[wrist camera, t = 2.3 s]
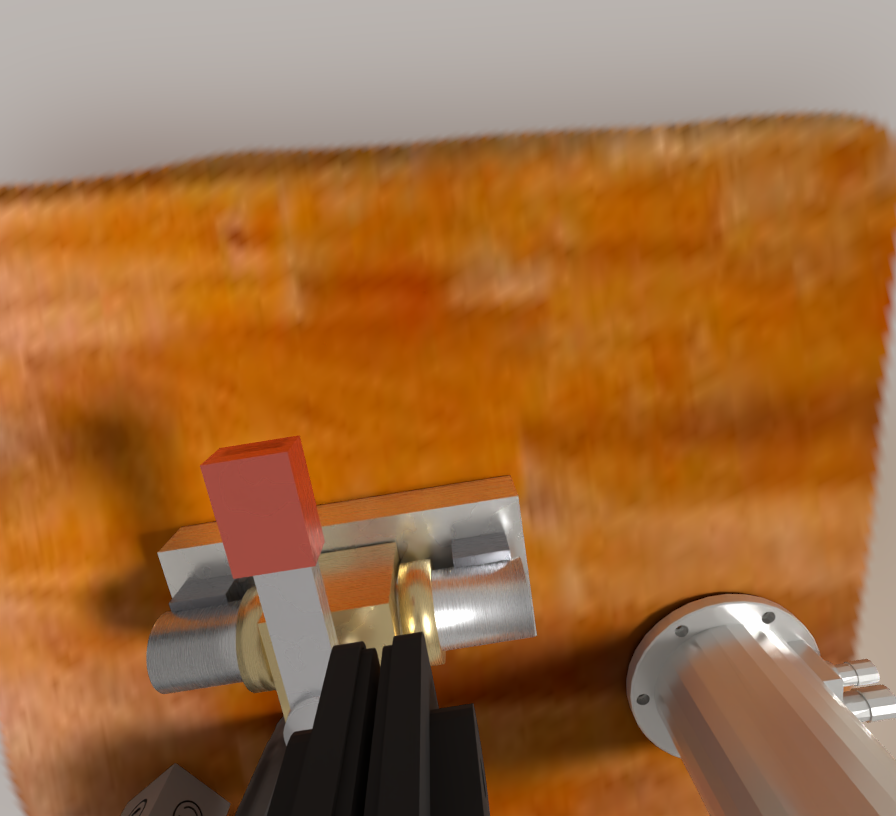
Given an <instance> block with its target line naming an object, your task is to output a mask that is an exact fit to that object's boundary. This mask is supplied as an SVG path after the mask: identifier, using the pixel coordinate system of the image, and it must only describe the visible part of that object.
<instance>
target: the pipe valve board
mask: <svg viewBox="0 0 896 816" xmlns="http://www.w3.org/2000/svg"><path fill="white" fill-rule="evenodd" d="M317 511H318V515H319V519H320V523H321V527H322V532H323V536H324V540H325V542H324V545H323V548H322V550H321V553H320V556H319V558H318V562H319V566H320V570H321V574H322V578H323V582H324V586H325V590H326V594H327V599H328V603H329V607H330V611H331V615H332V619H333V623H334V627H335V631H336V635H337V639H338V643H339V645H341V644H347V643H353V642H359V641H363V642H364V643H365V645H366V648H367V649H368V648H376V650H377V654H378V658H379V663H380V666H381V657H382V649H383V646H387V645H392V642H393V637H394V636H397V635H403V634H410V633H416V632H423V633H424V637H425V641H426V646H427V651H428V656H429V661H430V666H434V665H440V664H445V651H446V650H452V649H459V648H465V647H472V646H478V645H485V644H491V643H498V642H504V641H511V640H517V639H523V638H530V637H535V636H537V634H536V626H535V619H534V611H533V604H532V596H531V589H530V581H529V574H528V566H527V559H526V551H525V544H524V536H523V529H522V521H521V514H520V506H519V499H518V494H517V491H516V489H515V486H514V483H513V481H512V478H511V475H508V476H502V477H495V478H489V479H483V480H476V481H470V482H464V483H457V484H451V485H445V486H438V487H432V488H426V489H419V490H413V491H407V492H400V493H394V494H388V495H381V496H375V497H369V498H362V499H356V500H350V501H343V502H337V503H331V504H324V505H318V506H317ZM157 554H158V557H159V560H160V563H161V566H162V569H163V572H164V575H165V578H166V581H167V584H168V587H169V590H170V593H171V596H172V600H171V601H170V602H169V605H170V608H171V611H168V612H165V613H163V614H162V615H161V616H160V617H159V618H158V619H157V620H156V622H155V624H154V626H153V628H152V630H151V633H150V636H149V640H148V646H147V670H148V675H149V678H150V681H151V683H152V685H153V687H154V688H155V689H156V690H157V691H158V692H159V693H162V694H169V693H175V692H181V691H188V690H194V689H201V688H207V687H214V686H220V685H227V684H233V683H240V682H244V684H245V686H246V687H247V689H248V690H249V691H251V692H253V693H259V692H266V691H272V690H277V694H278V697H279V701H280V704H281V708H282V711H283V715H284V718H285V722H286V720H287V717H288V714H289V711H290V706H289V702H288V698H287V695H286V691H285V688H284V684H283V681H282V677H281V674H280V670H279V666H278V663H277V659H276V656H275V652H274V649H273V645H272V642H271V638H270V635H269V631H268V627H267V624H266V620H265V617H264V613H263V610H262V606H261V603H260V599H259V596H258V592H257V588H256V585H255V581H254V578H253V576H250V577H243V578H237V579H233V576H232V573H231V569H230V566H229V563H228V559H227V556H226V552H225V549H224V546H223V542H222V539H221V535H220V532H219V528H218V525H217V522H211V523H204V524H198V525H192V526H185V527H181V528H180V529H179V530H178V531H177V532H176V533H175V534H174V535H173V536H172V537H171V539H170V540H169V541H168V542H167V543H166V544H165V545H164V546H163V547H162V548H161V549H160V550H159V551H158V552H157Z"/></svg>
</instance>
